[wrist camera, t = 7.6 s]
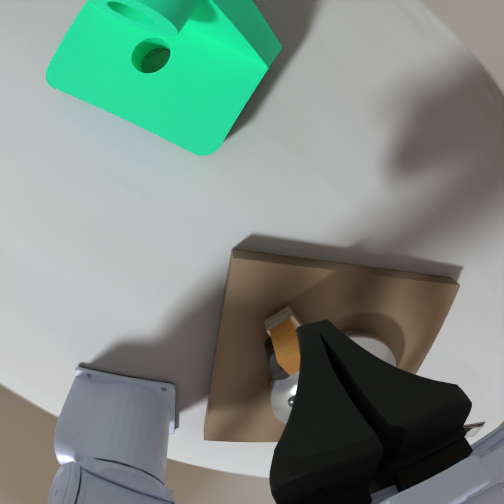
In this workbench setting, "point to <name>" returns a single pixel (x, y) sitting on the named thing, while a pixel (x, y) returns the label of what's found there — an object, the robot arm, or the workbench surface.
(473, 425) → the computer memory module
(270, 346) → the dowel pin
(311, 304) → the fixture board
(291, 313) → the flange plate
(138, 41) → the camera mount
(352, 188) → the workbench surface
